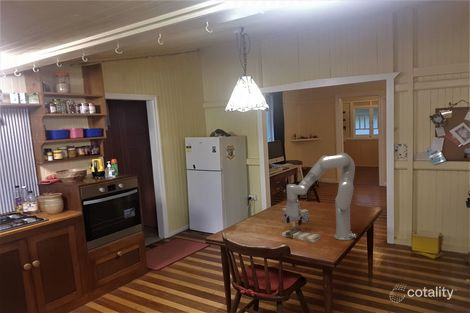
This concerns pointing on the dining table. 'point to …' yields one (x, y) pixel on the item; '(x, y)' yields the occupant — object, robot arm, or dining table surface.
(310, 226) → the dining table surface
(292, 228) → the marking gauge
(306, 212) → the stack of blocks
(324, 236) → the dining table surface
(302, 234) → the birch board
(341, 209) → the robot arm
